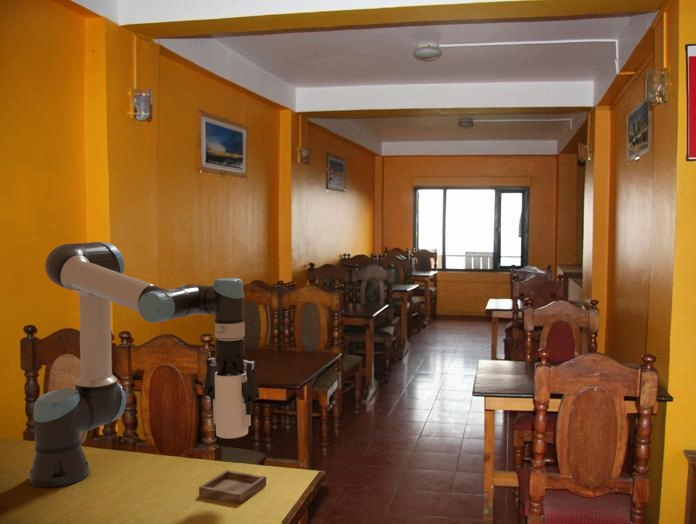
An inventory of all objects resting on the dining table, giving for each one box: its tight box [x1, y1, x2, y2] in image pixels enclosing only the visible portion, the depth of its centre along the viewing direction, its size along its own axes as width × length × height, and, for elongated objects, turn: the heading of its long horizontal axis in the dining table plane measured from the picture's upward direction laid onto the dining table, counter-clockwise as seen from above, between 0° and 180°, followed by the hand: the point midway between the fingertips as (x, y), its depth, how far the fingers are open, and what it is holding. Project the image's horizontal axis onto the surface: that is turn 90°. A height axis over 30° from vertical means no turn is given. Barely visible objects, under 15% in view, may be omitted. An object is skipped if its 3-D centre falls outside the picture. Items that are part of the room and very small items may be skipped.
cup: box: [214, 369, 249, 439], centre depth 170 cm, size 8×8×16 cm
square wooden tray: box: [198, 469, 267, 505], centre depth 171 cm, size 12×12×2 cm
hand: (232, 424), depth 170 cm, fingers closed on cup, 8 cm apart
